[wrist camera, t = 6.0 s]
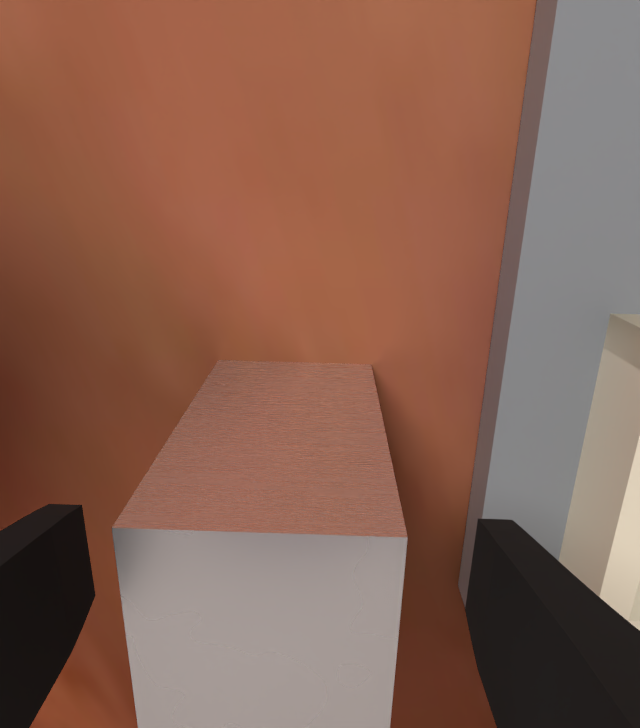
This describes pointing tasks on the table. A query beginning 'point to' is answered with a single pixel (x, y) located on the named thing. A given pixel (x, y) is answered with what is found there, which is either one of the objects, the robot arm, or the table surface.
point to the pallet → (570, 309)
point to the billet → (266, 556)
